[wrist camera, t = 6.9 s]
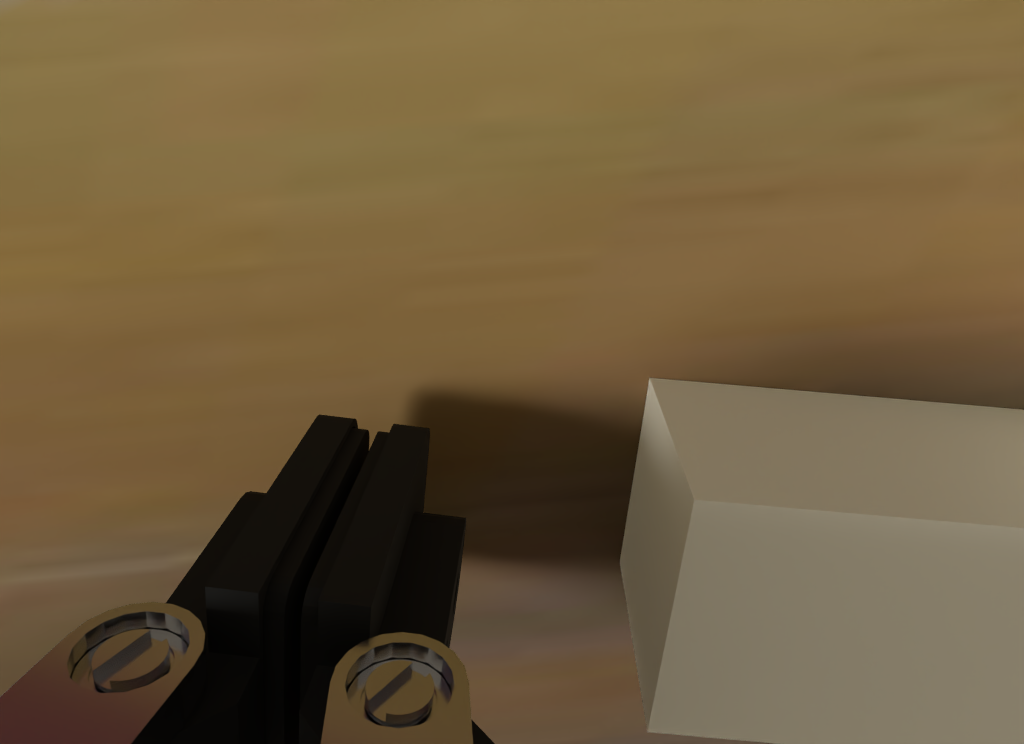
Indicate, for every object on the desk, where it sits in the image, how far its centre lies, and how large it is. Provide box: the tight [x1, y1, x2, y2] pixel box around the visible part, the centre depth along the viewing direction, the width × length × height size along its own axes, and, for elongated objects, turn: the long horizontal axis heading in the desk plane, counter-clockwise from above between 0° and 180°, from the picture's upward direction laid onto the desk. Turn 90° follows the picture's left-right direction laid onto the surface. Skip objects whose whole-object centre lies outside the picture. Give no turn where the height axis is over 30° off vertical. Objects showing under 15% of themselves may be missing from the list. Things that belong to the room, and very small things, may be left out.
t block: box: [620, 378, 1024, 744], centre depth 10 cm, size 10×10×4 cm
